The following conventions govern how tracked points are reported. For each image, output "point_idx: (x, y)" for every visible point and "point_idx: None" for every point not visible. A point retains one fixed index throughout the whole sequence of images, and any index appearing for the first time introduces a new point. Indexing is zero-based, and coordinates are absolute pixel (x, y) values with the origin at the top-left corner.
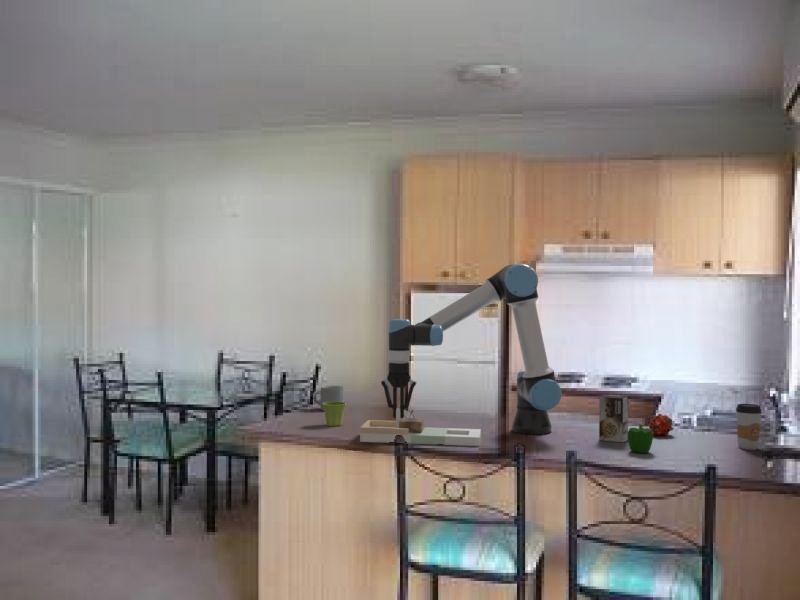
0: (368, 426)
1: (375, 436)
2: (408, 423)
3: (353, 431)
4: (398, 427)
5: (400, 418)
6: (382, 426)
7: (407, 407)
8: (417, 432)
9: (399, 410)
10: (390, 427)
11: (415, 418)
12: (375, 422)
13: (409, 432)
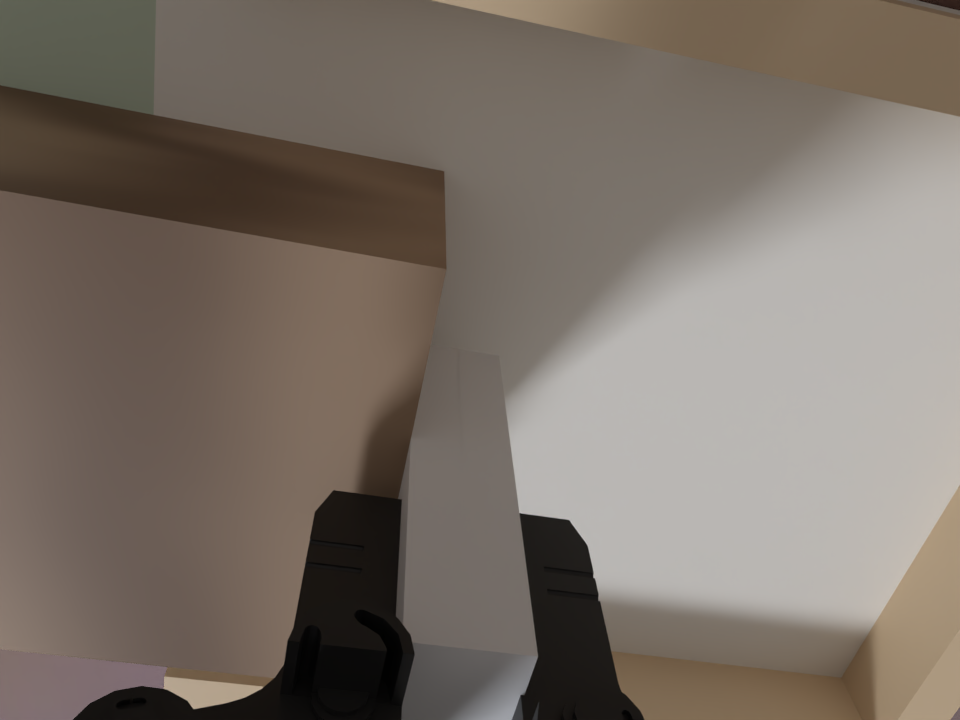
0: (941, 558)
1: (948, 10)
2: (188, 202)
3: (956, 712)
4: (447, 351)
5: (397, 512)
6: (670, 656)
7: (116, 698)
8: (22, 92)
9: (426, 624)
10: None
11: (46, 611)
12: (793, 717)
13: (213, 128)
